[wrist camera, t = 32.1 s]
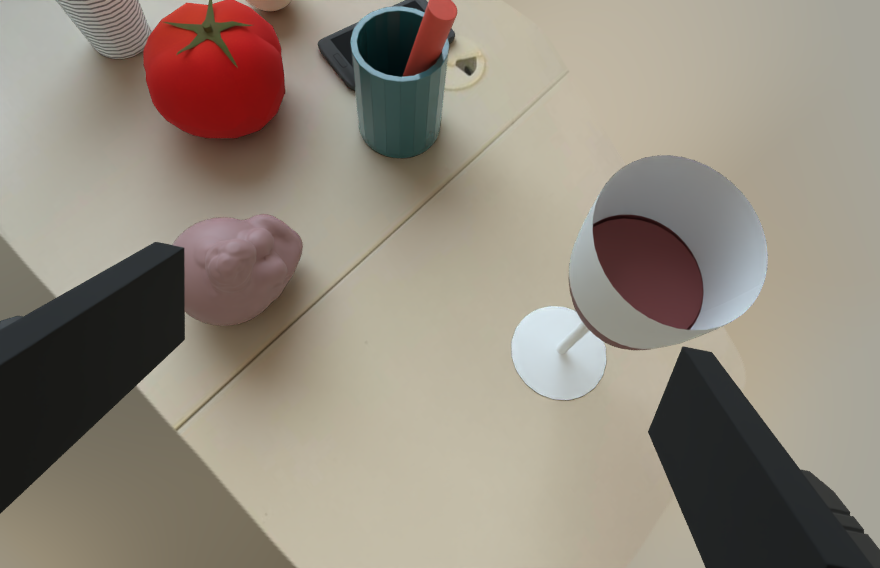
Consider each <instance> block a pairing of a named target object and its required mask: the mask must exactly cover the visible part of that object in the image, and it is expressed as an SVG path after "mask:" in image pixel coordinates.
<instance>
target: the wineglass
mask: <svg viewBox="0 0 880 568" xmlns="http://www.w3.org/2000/svg"><path fill="white" fill-rule="evenodd" d="M767 260H768V254H767V245H766V239H765V235H764V232H763V229H762V226H761V223H760V221H759V219H758V216H757V214H756V212H755V211H754V209H753V207H752V206H751V204H750V202H749V201H748V200H747V199H746V197H745V196H744V195H743V193H742V192H741V191H740V190H739V189H738V188H737V187H736V186H735V185H734V184H733V183H732V182H731V181H729V180H728V179H727V178H726V177H724V176H723V175H722V174H720V173H719V172H717V171H716V170H714V169H712V168H711V167H709V166H707V165H704V164H702V163H700V162H697V161H695V160H691V159H687V158H684V157H678V156H670V155H667V156H652V157H646V158H643V159H640V160H637V161H634V162H632V163H630V164H628V165H626V166H624V167H623V168H622V169H620V170H619V171H618V172H617V173H615V174H614V175H613V176H612V177H611V178H610V180H609V181H608V182H607V183H606V184H605V186H604V188H603V189H602V191H601V192H600V194H599V196H598V197H597V199H596V201H595V202H594V204H593V206H592V207H591V209H590V211H589V213H588V215H587V217H586V219H585V221H584V223H583V225H582V227H581V229H580V232H579V234H578V237H577V239H576V242H575V244H574V247H573V250H572V254H571V258H570V263H569V286H570V293H571V297H572V301H573V305H574V307H575V309H576V311H574V310H571V309H568V308H566V307H555V306H548V307H545V308H541V309H537V310H535V311H533V312H532V313H530V314H529V315H527V316H526V317H524V318H523V320H522V321H521V322H520V324H519V325H518V326H517V328H516V330H515V333H514V336H513V339H512V359H513V362H514V365H515V368H516V371H517V372H518V374H519V375H520V376H521V378H522V379H523V381H524V382H525V383H526V384H527V385H528V386H529V387H530V388H532V389H533V390H534V391H536V392H537V393H538V394H541V395H543V396H546V397H548V398H551V399H557V400H571V399H574V398H578V397H581V396H584V395H585V394H587V393H588V392H589V391H591V390H592V389H594V388H595V387H596V385H597V384H598V382H599V381H600V379H601V378H602V376H603V373H604V369H605V365H606V349H605V345H604V342H605V343H607V344H610V345H612V346H614V347H618V348H621V349H628V350H649V349H655V348H661V347H666V346H671V345H675V344H679V343H682V342H685V341H688V340H691V339H693V338H696V337H699V336H701V335H704V334H706V333H709V332H711V331H713V330H716V329H718V328H720V327H722V326H724V325H726V324H728V323H730V322H732V321H733V320H735V319H736V318H738V317H739V316H740V315H742V314H743V313H744V312H745V311H746V310H747V309H748V308H749V307H750V306H751V305H752V304H753V303H754V301H755V299H756V298H757V296H758V295H759V293H760V291H761V288H762V286H763V284H764V281H765V276H766V271H767Z"/></svg>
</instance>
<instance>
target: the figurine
mask: <svg viewBox="0 0 880 568" xmlns="http://www.w3.org/2000/svg"><path fill="white" fill-rule="evenodd" d="M173 245H174V246H179V247H184V252H185V312H186V313H187V314H188V315H190V316H191V317H193V318H195V319H197V320H199V321H202V322H204V323H208V324H212V325H221V326H227V325H235V324H239V323H243V322H246V321H248V320H250V319H252V318H254V317H256V316H257V315H259V314H260V313H261V312H263V311H264V310H265V309H266V308H267V307H268V306H269V305H270V304H271V303H272V302H273V301H274V300H275V299H277V298H278V297H279V295H280V294H281V293H282V291H283V289H284V288H285V286H286V285H287V283H288V281H289V280H290V279H291V277H292V275H293V273H294V272H295V269H296V267H297V264H298V262H299V260H300V257H301V254H302V248H303V245H302V240H301V238H300V236H299V235H298V233H296V232H295V231H294V230H292V229H291V228H290V227H289V226H288V225H287V224H285V223H284V222H283V221H281V220H279V219H278V218H276V217H274V216H271V215H266V214H260V215H256V216H253V217H251V218H249V219H246V220H239V219H234V218H226V217H219V218H211V219H207V220H203V221H201V222H198V223H196V224H194V225H192V226H191V227H189V228H188V229H186V230H185V231H184V232H183V233H182V234H181V235H179V236H178V238H177V239H176V240H175V242H174V243H173Z"/></svg>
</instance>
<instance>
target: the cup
mask: <svg viewBox="0 0 880 568" xmlns="http://www.w3.org/2000/svg"><path fill="white" fill-rule="evenodd" d="M56 1H57V3H58V4H59V5H60V6H61V8H62V9H63V10H64V11H65V12H66V14H67V15H68V16H69V17H70V19H71V20H72V21H73V22H74V24H75V25H76V26H77V27H78V29H79V30H80V31H81V32H82V34H83V35H84V36H85V37H86V39H87V40H88V41H89V42H90V44H91V45H92V46H93V47H94V49H96V50H97V51H98V52H99V53H100V54H101V55H103V56H106V57H109V58H112V59H125V58H129V57H132V56H135V55H137V54H138V53H140V52H142V51H143V50H144V48H145V45H146V42H147V39H148V37H149V36H150V34H151V31H150V28H149V25H148V23H147V20H146V18H145V15H144V13H143V10H142V8H141V5H140V3H139V1H138V0H56Z"/></svg>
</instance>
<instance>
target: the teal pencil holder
mask: <svg viewBox="0 0 880 568" xmlns="http://www.w3.org/2000/svg"><path fill="white" fill-rule="evenodd" d="M424 13H425V12H422V11H420V10H418V9H414V8H409V7H403V6H395V7H385V8H382V9H379V10H376V11H373V12H371V13H369V14H368V15H366V16H365V17H364V18H362V19H361V20H360V21H359V22H358V24H357V25H356V27H355V28H354V29H353V32H352V36H351V40H350V46H351V55H352V65H353V75H354V84H355V94H356V104H357V114H358V122H359V129H360V133H361V135H362V138H363V139H364V141H365V142H366V143H367V144H368V146H370V147H371V148H372V149H373V150H375V151H376V152H378V153H380V154H382V155H385V156H388V157H392V158H409V157H413V156H416V155H419V154H421V153H423V152H425V151H426V150H427V149H429V148H430V147H431V146H432V145H433V144H434V142H435V141H436V139H437V137H438V135H439V131H440V124H441V116H442V107H443V98H444V89H445V80H446V71H447V62H448V53H449V41H448V37H447V39H446V42H445V44H444V47H443V49H442V51H441V54H440V56H439V58H438V60H437V62H436V63H435V64H434V65H433V66H432V67H430V68H429V69H428V70H426V71H424V72H421V73H419V74H416V75H413V76H403V73H404V71H405V68H406V65H407V62H408V59H409V56H410V53H411V50H412V48H413V45H414V42H415V39H416V36H417V33H418V30H419V27H420V25H421V22H422V19H423V16H424ZM402 76H403V77H402Z"/></svg>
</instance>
